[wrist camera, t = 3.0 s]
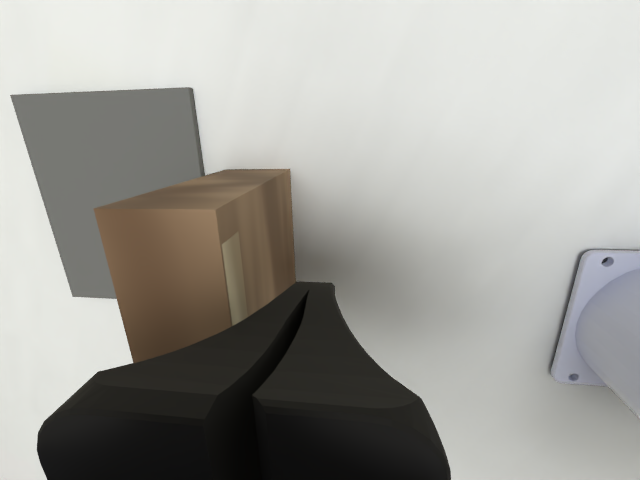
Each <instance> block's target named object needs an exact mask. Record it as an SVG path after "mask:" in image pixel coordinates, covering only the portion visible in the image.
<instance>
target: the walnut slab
mask: <svg viewBox="0 0 640 480" xmlns="http://www.w3.org/2000/svg"><path fill="white" fill-rule="evenodd" d="M93 209H94V213H95V217H96V220H97V224H98V228H99V232H100V236H101V240H102V244H103V247H104V251H105V255H106V259H107V263H108V267H109V270H110V274H111V278H112V282H113V286H114V290H115V294H116V297H117V301H118V305H119V309H120V313H121V317H122V320H123V324H124V328H125V332H126V336H127V340H128V344H129V347H130V351H131V355H132V359H133V363H136V362H140V361H144V360H147V359H151V358H154V357H158V356H161V355H164V354H167V353H170V352H173V351H176V350H179V349H181V348H184V347H187V346H190V345H192V344H194V343H197V342H199V341H201V340H204V339H206V338H208V337H211V336H213V335H215V334H218V333H220V332H222V331H224V330H226V329H228V328H230V327H231V326H233V325H235V324H237V323H239V322H240V321H242V320H244V319H246V318H247V317H249V316H250V315H252V314H253V313H255V312H256V311H258V310H259V309H261V308H262V307H264V306H265V305H267V304H268V303H269V302H271V301H272V300H273V299H275V298H276V297H277V296H279V295H280V294H281V293H283V292H284V291H285V290H286V289H288V288H289V287H290V286H292V285H293V284H294V283H296V278H295V259H294V239H293V220H292V201H291V181H290V169H235V170H223V171H220V172H216V173H213V174H209V175H206V176H202V177H199V178H196V179H192V180H189V181H185V182H182V183H179V184H175V185H172V186H168V187H165V188H162V189H158V190H155V191H151V192H148V193H145V194H141V195H138V196H134V197H131V198H128V199H124V200H121V201H117V202H114V203H111V204H107V205H104V206H100V207H97V208H93Z"/></svg>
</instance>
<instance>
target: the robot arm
mask: <svg viewBox="0 0 640 480" xmlns="http://www.w3.org/2000/svg"><path fill="white" fill-rule="evenodd" d="M606 257H608V260H607V261H606V262H605V263H603V264H602V261H603V259H605V258H606ZM571 374H573V375H571ZM551 375H552V377H553V378H554V380H555V381H557V382H559V383H568V384H582V385H596V386H608V387H609V388H610V389H611V390H612V391H613V392H614V393H615V394H616V395H617V396H618V397H619V398H620V399H621V400H622V401H623V402H624V403H625V404H626V405H627V406H628V408H629V409H630V410H631V411H632V412H633V413H634V414H635V415H636V416H637V417H638V418H639V419H640V251H632V250H589V251H587V252H585V253H584V254H583V255H582V257H581V260H580V263H579V267H578V271H577V275H576V278H575V282H574V286H573V290H572V294H571V297H570V301H569V305H568V309H567V312H566V316H565V320H564V324H563V327H562V331H561V335H560V339H559V342H558V346H557V350H556V354H555V357H554V361H553V365H552V369H551ZM569 375H571V376H569ZM37 452H38V456H39V459H40V463H41V466H42V468H43V470H44V473H45V475H46V477H47V480H451V473H450V467H449V463H448V460H447V456H446V453H445V450H444V447H443V445H442V442H441V440H440V437H439V435H438V432H437V430H436V428H435V425H434V423H433V421H432V419H431V417H430V415H429V413H428V410H427V408H426V406H425V404H424V403H423V401H422V399H421V398H420V397H419V396H417V395H416V394H415V393H413V392H412V391H410V390H409V389H408V388H406V387H405V386H403V385H402V384H400V383H399V382H398V381H396V380H395V379H393V378H392V377H391V376H390V375H389V374H387V373H386V372H385V371H384V370H383V369H382V368H381V367H380V366H379V365H378V364H377V363H376V362H375V361H374V360H373V359H372V358H371V357H370V356H369V355H368V354H367V353H366V351H365V350H364V349H363V348H362V346H361V345H360V344H359V343H358V341H357V340H356V338H355V337H354V335H353V334H352V332H351V331H350V329H349V327H348V326H347V324H346V322H345V320H344V318H343V316H342V314H341V312H340V309H339V307H338V304H337V301H336V298H335V286H334V285H333V284H332V283H319V282H296V283H294V284H293V285H292V286H290V287H289V288H288V289H286V290H285V291H284V292H283V293H281V294H280V295H279V296H277V297H276V298H275V299H273V300H272V301H271V302H269V303H268V304H267V305H265V306H264V307H262V308H261V309H259V310H258V311H256V312H255V313H253V314H252V315H250V316H249V317H247V318H246V319H244V320H242V321H240V322H239V323H237V324H235V325H233V326H231V327H230V328H228V329H226V330H224V331H222V332H220V333H218V334H215V335H213V336H211V337H208V338H206V339H204V340H201V341H199V342H197V343H194V344H192V345H190V346H187V347H184V348H181V349H179V350H176V351H173V352H170V353H167V354H164V355H161V356H158V357H154V358H151V359H147V360H144V361H140V362H136V363H132V364H128V365H124V366H120V367H116V368H112V369H108V370H104V371H99V372H97V373H96V374H95V375H94V376H93V377H92V378H91V379H90V380H89V381H88V382H86V383H85V384H84V385H83V386H82V387H81V388H80V389H79V390H78V391H77V392H76V393H74V394H73V395H72V396H71V397H70V398H69V399H68V400H67V401H66V402H65V403H64V404H63V405H61V406H60V407H59V408H58V409H57V410H56V411H55V412H54V413H53V414H52V415H51V416H50V417H48V418H47V419H46V420H45V421H44V423H43V425H42V426H41V428H40V430H39V432H38V441H37Z"/></svg>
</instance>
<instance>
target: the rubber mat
mask: <svg viewBox="0 0 640 480" xmlns="http://www.w3.org/2000/svg"><path fill="white" fill-rule="evenodd" d="M10 96H11V99H12V102H13V105H14V109H15V112H16V115H17V118H18V122H19V125H20V128H21V131H22V134H23V138H24V141H25V144H26V147H27V151H28V154H29V157H30V160H31V163H32V167H33V170H34V173H35V176H36V179H37V183H38V186H39V189H40V192H41V196H42V199H43V202H44V205H45V208H46V212H47V215H48V218H49V221H50V225H51V228H52V231H53V234H54V237H55V241H56V244H57V247H58V250H59V254H60V257H61V260H62V263H63V266H64V270H65V273H66V276H67V279H68V283H69V286H70V289H71V292H72V295H73V297H91V298H112V299H117V297H116V294H115V290H114V286H113V282H112V278H111V274H110V270H109V267H108V263H107V259H106V255H105V251H104V247H103V244H102V240H101V236H100V232H99V228H98V224H97V220H96V217H95V213H94V209H93V208H97V207H100V206H104V205H107V204H111V203H114V202H117V201H121V200H124V199H128V198H131V197H134V196H138V195H141V194H145V193H148V192H151V191H155V190H158V189H162V188H165V187H168V186H172V185H175V184H179V183H182V182H185V181H189V180H192V179H196V178H199V177H202V176H204V169H203V161H202V154H201V147H200V140H199V133H198V125H197V118H196V111H195V104H194V97H193V89H192V88H165V89H141V90H117V91H94V92H70V93H46V94H22V95H10Z"/></svg>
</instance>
